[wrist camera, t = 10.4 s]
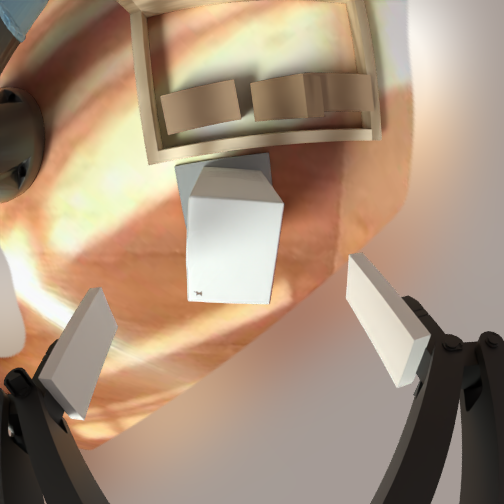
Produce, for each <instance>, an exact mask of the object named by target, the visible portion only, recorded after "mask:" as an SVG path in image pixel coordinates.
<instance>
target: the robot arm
mask: <svg viewBox="0 0 504 504" xmlns="http://www.w3.org/2000/svg"><path fill="white" fill-rule="evenodd" d="M47 2H48V0H0V75H1V73H2V72H3V70H4V68H5V66H6V65H7V63H8V61H9V60H10V58H11V56H12V55H13V53H14V52H15V50H16V48H17V47H18V45H19V44H20V42H21V43H22V42H23V41H24V40H25V38H26V34H27V32H28V30H29V29H30V27H31V26H32V24H33V23H34V22H35V20H36V19H37V17H38V16H39V15H40V13H41V12H42V10H43V9H44V8H45V6H46V4H47ZM44 143H45V132H44V123H43V118H42V114H41V111H40V108H39V106H38V104H37V102H36V101H35V99H34V98H33V97H32V96H31V95H30V94H29V93H28V92H27V91H25V90H23V89H20V88H0V203H4V202H8V201H10V200H12V199H14V198H16V197H18V196H19V195H21V194H23V193H24V192H25V191H26V190H27V189H28V188H29V187H30V185H31V184H32V183H33V181H34V179H35V177H36V175H37V173H38V171H39V168H40V165H41V162H42V157H43V152H44ZM346 299H347V301H348V302H349V304H350V306H351V307H352V309H353V311H354V312H355V314H356V316H357V317H358V319H359V321H360V323H361V324H362V326H363V328H364V330H365V331H366V333H367V335H368V336H369V338H370V340H371V342H372V344H373V345H374V347H375V349H376V351H377V352H378V354H379V356H380V358H381V360H382V361H383V363H384V365H385V367H386V369H387V370H388V372H389V374H390V376H391V378H392V380H393V382H394V383H395V385H396V387H397V388H398V387H401V386H404V385H407V384H410V383H412V382H413V380H414V377H415V375H416V374H417V375H418V377H419V379H420V382H419V384H418V386H417V388H416V390H415V393H414V396H415V397H414V400H413V404H412V407H411V410H410V413H409V416H408V419H407V422H406V425H405V427H404V430H403V433H402V435H401V438H400V441H399V443H398V446H397V448H396V450H395V453H394V455H393V458H392V460H391V462H390V465H389V467H388V469H387V471H386V474H385V476H384V478H383V480H382V482H381V484H380V486H379V488H378V490H377V492H376V494H375V496H374V498H373V500H372V501H371V503H370V504H431V501H432V498H433V496H434V493H435V491H436V488H437V485H438V482H439V479H440V476H441V473H442V470H443V467H444V463H445V460H446V457H447V453H448V450H449V446H450V442H451V438H452V433H453V429H454V425H455V420H456V415H457V410H458V404H459V398H460V409H461V424H462V479H461V492H460V503H459V504H504V341H503V339H502V337H500V336H499V335H498V334H496V333H494V332H490V331H487V332H484V333H482V334H481V335H480V337H479V340H478V342H465V343H464V342H463V341H462V340H461V339H460V338H458V337H457V336H454V335H451V334H445V333H444V332H443V331H442V329H441V328H440V327H439V326H438V324H437V323H436V322H435V321H434V320H433V318H432V317H431V316H430V315H428V313H427V311H426V310H425V309H424V308H423V307H422V306H421V304H420V303H419V302H418V301H417V300H415V299H413V298H412V297H410V296H405V297H400V295H399V294H398V293H397V292H396V291H395V289H394V288H393V287H392V286H391V285H390V283H389V282H388V281H387V280H386V279H385V278H384V277H383V275H382V274H381V273H380V272H379V271H378V270H377V269H376V267H375V266H374V265H373V264H372V263H371V262H370V261H369V260H368V258H367V257H366V256H365V255H364V254H363V253H355V254H349V263H348V280H347V293H346ZM117 328H118V326H117V324H116V321H115V319H114V317H113V315H112V312H111V310H110V308H109V305H108V303H107V300H106V298H105V295H104V293H103V290H102V288H101V287H98V288H90V289H89V290H88V292H87V293H86V295H85V297H84V298H83V300H82V301H81V303H80V304H79V306H78V308H77V309H76V311H75V313H74V314H73V316H72V317H71V319H70V321H69V322H68V324H67V326H66V328H65V329H64V331H63V333H62V334H61V336H60V338H59V339H57V340H56V341H55V342H54V343H53V344H52V345H51V346H50V347H49V348H48V350H47V352H46V355H45V356H44V357H43V359H42V361H41V363H40V365H39V367H38V369H37V371H36V373H35V374H34V376H33V378H32V379H31V378H30V376H29V375H28V374H27V372H26V371H25V370H24V369H23V368H15V369H13V370H12V371H10V372H9V373H8V374H7V376H6V377H5V380H4V385H5V386H6V388H7V389H8V390H9V391H10V392H11V394H8V395H6V393H5V392H4V391H3V390H2V389H1V388H0V504H44V499H43V496H44V498H45V501H46V503H47V504H110V503H109V502H108V500H107V499H106V497H105V496H104V494H103V493H102V491H101V489H100V488H99V486H98V484H97V483H96V481H95V480H94V477H93V476H92V474H91V472H90V470H89V468H88V466H87V464H86V463H85V461H84V459H83V457H82V455H81V453H80V451H79V449H78V447H77V445H76V442H75V440H74V438H73V436H72V434H71V432H70V429H69V427H68V425H67V422H66V421H65V419H64V418H63V417H62V416H63V413H64V411H65V412H66V413H67V414H68V416H69V417H70V418H71V419H78V420H85V416H86V413H87V410H88V407H89V404H90V401H91V398H92V395H93V392H94V389H95V386H96V383H97V380H98V377H99V375H100V372H101V369H102V366H103V364H104V361H105V358H106V356H107V353H108V351H109V348H110V345H111V343H112V340H113V338H114V335H115V333H116V330H117ZM8 429H9V430H10V431H11V436H10V435H9V432H8Z"/></svg>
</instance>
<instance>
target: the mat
mask: <svg viewBox="0 0 504 504" xmlns="http://www.w3.org/2000/svg"><path fill="white" fill-rule="evenodd" d="M203 167H219V168H234V169H247V170H259V171H262V173H263V174H264V176H265V177H266V178H267V180H268V181H269V183H270V184H271V185H272V178H271V168H270V158H269V152H267V153H258V154H250V155H242V156H234V157H227V158H220V159H213V160H207V161H201V162H195V163H189V164H183V165H178V166H175V172H176V178H177V183H178V188H179V194H180V199H181V204H182V209H183V214H184V219H185V224H186V229H187V217H188V199H189V196H190V194H191V191H192V189H193V187H194V185H195V183H196V181H197V179H198V177H199V175H200V173H201V171H202V168H203Z"/></svg>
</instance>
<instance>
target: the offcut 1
mask: <svg viewBox="0 0 504 504" xmlns="http://www.w3.org/2000/svg"><path fill="white" fill-rule="evenodd" d="M160 98H161V103H162V108H163V113H164V118H165V123H166V128H167V132H168V135H171V134H175V133H179V132H183V131H187V130H191V129H195V128H200V127H204V126H209V125H214V124H218V123H223V122H229V121H234V120H239V119H241V114H240V109H239V104H238V98H237V93H236V88H235V83H234V79H233V80H227V81H222V82H217V83H212V84H207V85H202V86H198V87H193V88H189V89H185V90H181V91H177V92H173V93H169V94H166V95H162V96H160Z"/></svg>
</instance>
